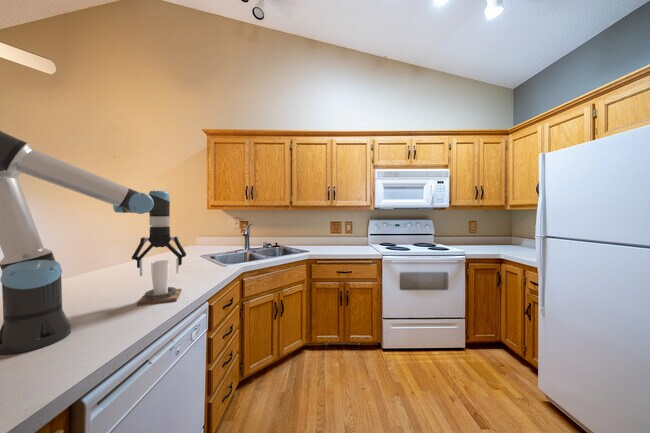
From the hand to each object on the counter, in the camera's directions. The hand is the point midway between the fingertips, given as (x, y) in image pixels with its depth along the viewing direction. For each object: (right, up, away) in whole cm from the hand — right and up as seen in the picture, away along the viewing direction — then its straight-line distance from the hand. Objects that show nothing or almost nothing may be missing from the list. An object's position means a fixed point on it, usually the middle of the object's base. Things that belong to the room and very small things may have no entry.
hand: (160, 273), depth 112 cm
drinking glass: (0, -10, 0) cm, 10 cm away
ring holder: (0, -11, 0) cm, 11 cm away
